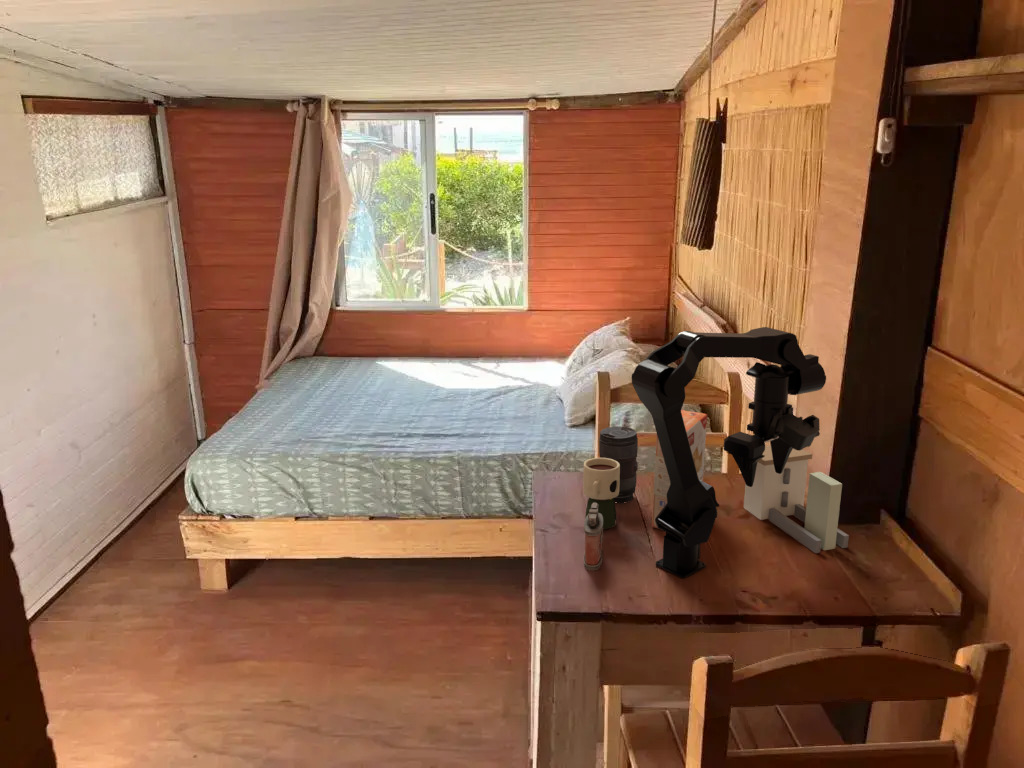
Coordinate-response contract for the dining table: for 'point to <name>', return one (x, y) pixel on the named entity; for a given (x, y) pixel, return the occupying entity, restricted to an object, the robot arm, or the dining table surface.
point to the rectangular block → (823, 508)
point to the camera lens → (621, 457)
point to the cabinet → (784, 497)
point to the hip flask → (593, 538)
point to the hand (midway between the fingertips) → (764, 479)
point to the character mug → (602, 487)
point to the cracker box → (697, 438)
